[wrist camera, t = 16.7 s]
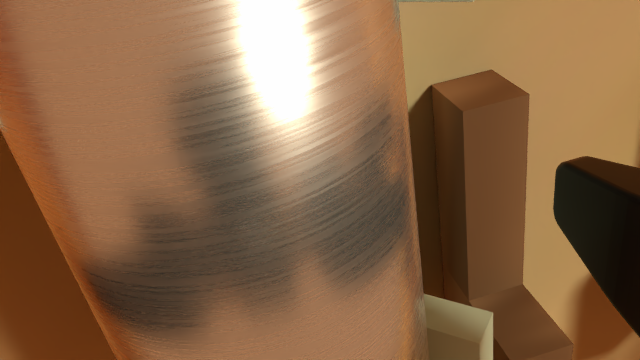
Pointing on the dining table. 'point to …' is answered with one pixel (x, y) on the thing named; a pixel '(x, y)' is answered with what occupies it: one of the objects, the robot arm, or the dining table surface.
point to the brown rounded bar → (223, 172)
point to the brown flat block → (489, 211)
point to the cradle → (457, 318)
